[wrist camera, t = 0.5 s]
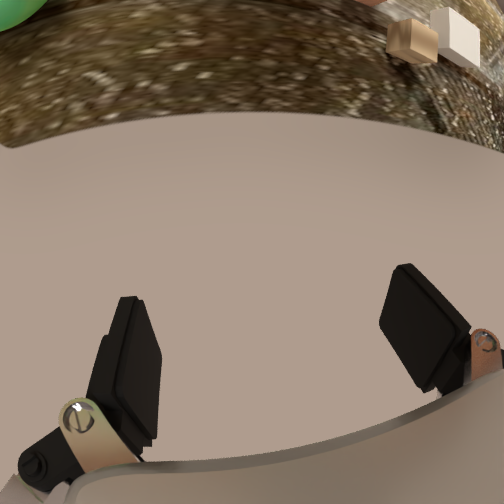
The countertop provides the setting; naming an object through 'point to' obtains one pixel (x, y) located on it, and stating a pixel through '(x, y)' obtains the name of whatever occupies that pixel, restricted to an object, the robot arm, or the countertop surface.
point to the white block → (456, 37)
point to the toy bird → (17, 11)
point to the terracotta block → (371, 2)
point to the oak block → (412, 42)
